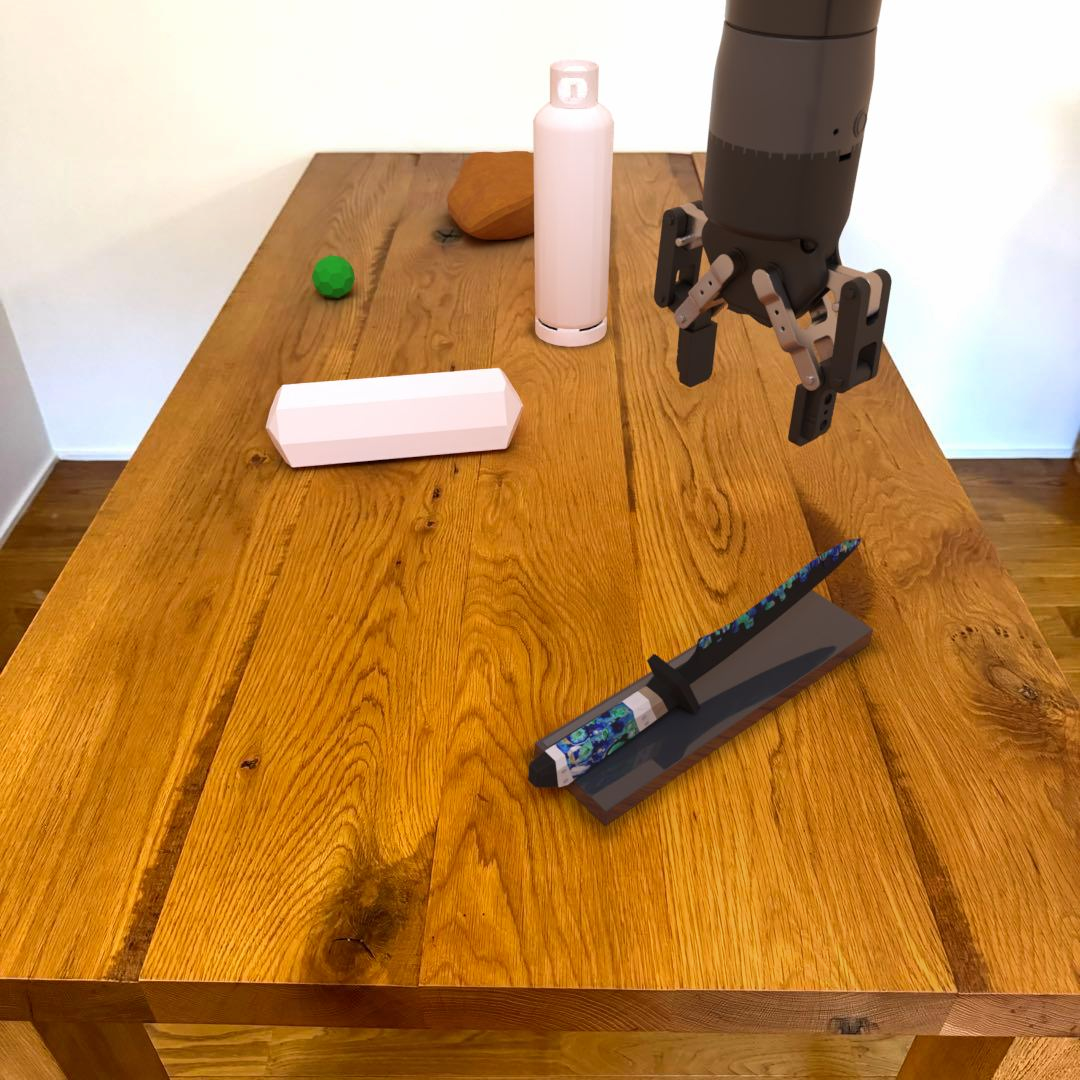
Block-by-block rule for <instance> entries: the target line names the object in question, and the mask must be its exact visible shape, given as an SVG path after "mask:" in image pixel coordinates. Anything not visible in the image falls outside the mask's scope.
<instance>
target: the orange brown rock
mask: <svg viewBox="0 0 1080 1080" xmlns="http://www.w3.org/2000/svg"><path fill="white" fill-rule="evenodd" d="M446 203H447V211H448V212H449V214H450V215H451V217H452V219H453V221H454V222H455V224H456V225H457V227H459V228H460V229H461V231H462V232H465V233H466V234H467V235H469V236H471V237H474V238H476V239H479V240H480V239H481V240H487V241H488V240H489V241H490V240H493V241H494V240H495V241H496V240H497V241H500V240H512V239H518V238H521V237H525V236H527V235H530V234H533V233H534V154H533V153H530V152H529V151H526V150H512V151H511V150H509V151H501V152H496V151H495V152H494V151H476V152H473V153H471V154H470V155H469V156H468V157H467V158H466V159H465V160H464V161H463V162H462V166H461V168H460V171H459V173H458V175H457V179H456V181H454V184H453V186H452V187H451V189H450V191H449V192H448V194H447V195H446Z"/></svg>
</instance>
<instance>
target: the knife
mask: <svg viewBox="0 0 1080 1080" xmlns="http://www.w3.org/2000/svg"><path fill="white" fill-rule="evenodd" d="M861 542H862V538H861V537H860V538H852V539H849V540H846V541H844V542H840V543H839V544H837V545H835V546H833V547H832V548H830V549H828V550H826V551H825V552H823V553H821V554H820V555H818V556H816V558H814V559H812V560H811V561H810V562H808V563H807V564H805V566H803V567H802V568H800V570H797V572H795V573H794V574H793V575H792V576H790V577H789V578H788V579H787V580H786V581H784V582H783V583H781V584H780V585H779V586H778V587H777V588H776V589H774V590H773V591H772V592H770V593H769V594H768V595H767V596H765V597H764V598H763V599H761V600H760V601H758V602H757V603H756V604H755V605H754V606H752V607H751V608H749V609H748V610H746V611H745V612H744V613H743V614H741V615H740V616H738V617H737V618H736V619H734V620H733V621H731V622H730V623H727V624H726V625H724V626H722V627H720V628H719V629H716V630H715V631H713V632H710V633H708V634H706V635H704V636H702V637H699V638H697V640H696V644H697V647H696V650H695V652H694V653H693V655H692V656H691V658H690V659H689V660H688V661H687V662H686V663H685V664H683V665H682V666H681V667H679V668H677V669H674V668H672V667H671V666H670V665H669V664H667V663H666V662H667V661H665V660H663V659H662V658H661V657H660V656H658V655H657V654H656V653H652V655H651V656H650V657H649V658H648V659H647V660H646V662H647V664H648V667H649V669H650V672H652V673H653V675H654V676H653V677H652V678H651V679H650V680H649V682H648V683H647V684H646V685H645V686H644V687H643V688H642V689H640V690H639V691H637V692H636V693H634V694H632V695H631V696H629V697H628V698H626V699H625V700H623V701H622V702H620V703H619V704H617V705H615V706H614V707H612V708H611V709H609V710H608V711H606V712H605V713H603V714H602V715H600V716H599V717H597V718H596V719H594V720H593V721H591V722H590V723H588V724H586V725H585V726H583V727H582V728H580V729H579V730H577V731H575V732H574V733H572V734H571V735H569V736H568V737H566V738H565V739H563V740H561V741H560V742H558V743H557V744H555V745H553V746H552V747H550V748H549V749H547V750H546V751H544V752H543V753H542V754H541V755H540V756H538V757H537V758H535V757H534V759H533V760H531V761H530V762H529V764H528V773H527V781H528V782H529V783H530V784H531V785H532V786H533V787H534V788H538V789H541V788H544V789H545V788H546V789H547V788H563V787H565V786H566V785H568V784H569V783H571V782H572V781H574V780H575V779H576V778H578V777H579V776H580V775H582V774H583V773H584V772H586V771H587V770H589V769H590V768H591V767H593V766H594V765H595V764H597V763H598V762H599V761H601V760H602V759H604V758H605V757H606V756H608V755H609V754H610V753H612V752H613V751H614V750H616V749H617V748H619V747H620V746H621V745H623V744H624V743H625V742H627V741H628V740H629V739H631V738H632V737H634V736H635V735H636V734H638V733H639V732H640V731H642V730H643V729H644V728H646V727H647V726H649V725H650V724H651V723H653V722H654V721H655V720H657V719H658V718H659V717H661V716H662V715H664V714H665V713H666V712H668V711H669V710H671V709H672V708H674V707H675V706H677V705H678V704H679V705H681V706H682V707H684V708H686V709H687V710H689V711H690V712H692V713H693V714H696V713H697V711H698V710H699V709H700V708H701V707H700V705H699V703H698V701H697V699H696V697H695V695H694V693H693V691H692V689H691V687H690V684H692V683H693V682H695V681H696V680H697V679H699V678H700V677H701V676H703V675H704V674H706V673H707V672H708V671H710V670H711V669H713V668H714V667H715V666H717V665H718V664H719V663H721V662H722V661H724V660H725V659H726V658H728V657H729V656H730V655H731V654H733V653H734V652H735V651H737V650H738V649H739V648H740V647H742V646H743V645H744V644H746V643H747V642H748V641H749V640H751V639H752V638H753V637H755V636H756V635H757V634H759V633H760V632H761V631H762V630H764V629H765V628H766V627H768V626H769V625H770V624H771V623H773V622H774V621H775V620H776V619H778V618H779V617H780V616H781V615H782V614H784V613H785V612H786V611H787V610H789V609H790V608H791V607H792V606H793V605H795V604H796V603H797V602H798V601H799V600H801V599H802V598H803V597H804V596H805V595H806V594H808V593H809V592H810V591H811V590H813V589H815V588H816V587H817V586H818V585H820V584H821V583H822V582H823V581H824V580H825V579H826V578H828V576H829V575H831V574H832V573H833V572H834V571H835V570H836V569H837V568H839V567H840V566H841V565H842V563H844V562H845V560H846V559H848V557H849V556H851V555H852V553H853V552H855V550H856V549H857V548H858V547H859V545H860V544H861Z"/></svg>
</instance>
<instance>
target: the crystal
mask: <svg viewBox="0 0 1080 1080" xmlns="http://www.w3.org/2000/svg"><path fill="white" fill-rule="evenodd" d="M515 389H516V388H514V386H513V384H512V383H511V382H510V379H509V377H508V376H507V375H506V374H505V372H504V371H503V369H501V368H500V367H493V368H492V367H491V368H481V369H479V368H478V369H468V370H467V369H466V370H457V371H456V370H455V371H443V372H430V373H417V374H407V375H406V374H404V375H391V376H380V377H379V376H378V377H377V376H376V377H367V378H352V379H340V380H339V379H338V380H329V381H328V380H327V381H313V382H303V383H289V384H282V385H281V387H279V389H278V390H277V391H276V394H275V396H274V398H273V401H272V404H271V406H270V409H269V412H268V416H267V421H266V424H265V430H266V432H267V434H268V436H269V438H270V439H271V442H272V444H273V446H274V447H275V449H276V451H278V453H279V455H280V456H281V458H282V459H283V461H284V462H285V463H286V464H287V465H288V466H289V467H291V468H301V467H313V466H324V465H334V464H335V465H336V464H345V463H357V462H368V461H379V460H381V461H382V460H390V459H391V460H392V459H404V458H413V457H426V456H436V455H449V454H460V453H469V452H471V453H472V452H483V451H484V452H485V451H492V450H506V449H507V448H508V447H510V444H511V442H512V439H513V437H514V435H515V433H516V430H517V427H518V425H519V423H520V420H521V417H522V413H523V410H524V404H523V402H522V400H521V398H520V396H519V394H518V393H517V391H516V390H515Z"/></svg>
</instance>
